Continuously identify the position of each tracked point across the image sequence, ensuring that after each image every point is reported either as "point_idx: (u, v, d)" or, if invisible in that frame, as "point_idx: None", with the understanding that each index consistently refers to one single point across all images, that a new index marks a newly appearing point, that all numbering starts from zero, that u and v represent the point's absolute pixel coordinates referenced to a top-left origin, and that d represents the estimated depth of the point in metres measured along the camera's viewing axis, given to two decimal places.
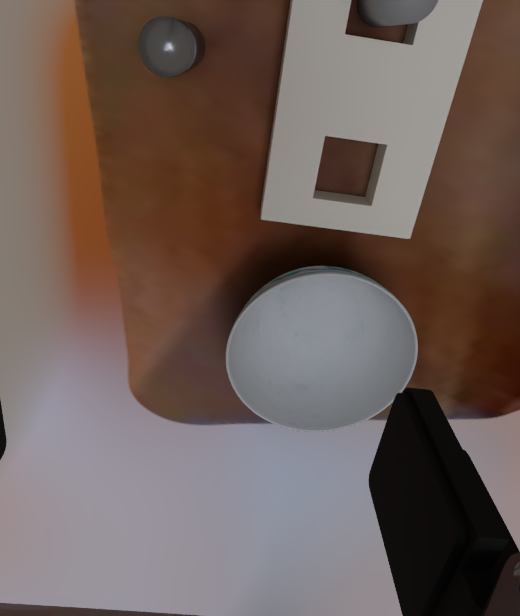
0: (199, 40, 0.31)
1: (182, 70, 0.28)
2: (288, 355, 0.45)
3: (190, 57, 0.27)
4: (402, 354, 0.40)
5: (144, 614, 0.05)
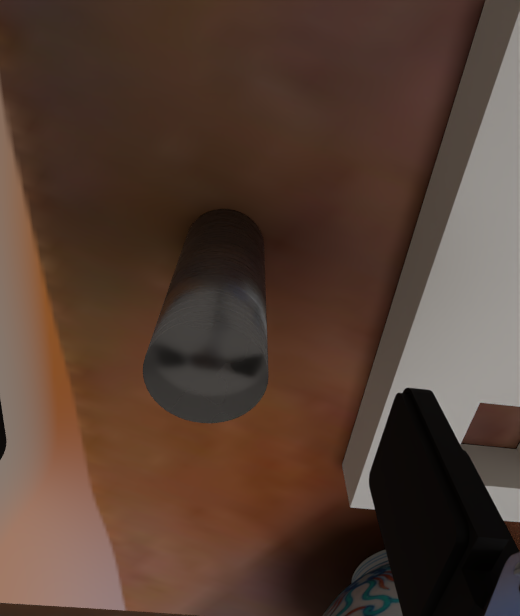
0: (264, 276, 0.16)
1: (242, 411, 0.12)
2: None
3: (262, 391, 0.12)
4: None
5: (144, 614, 0.05)
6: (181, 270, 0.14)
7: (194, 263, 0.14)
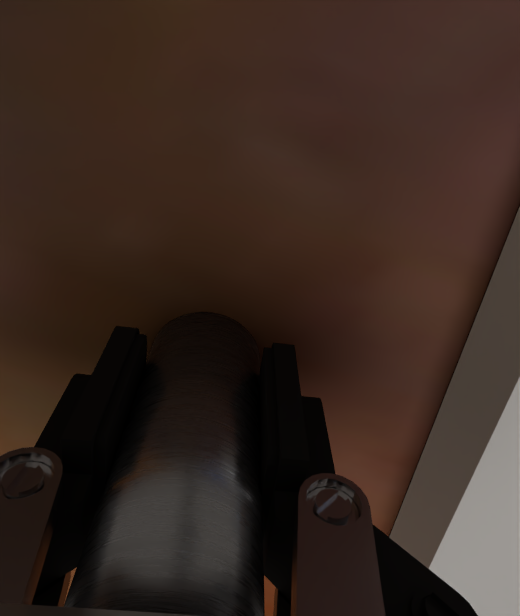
0: (259, 432, 0.10)
1: None
2: None
3: None
4: None
5: (144, 614, 0.05)
6: (128, 447, 0.09)
7: (147, 439, 0.09)
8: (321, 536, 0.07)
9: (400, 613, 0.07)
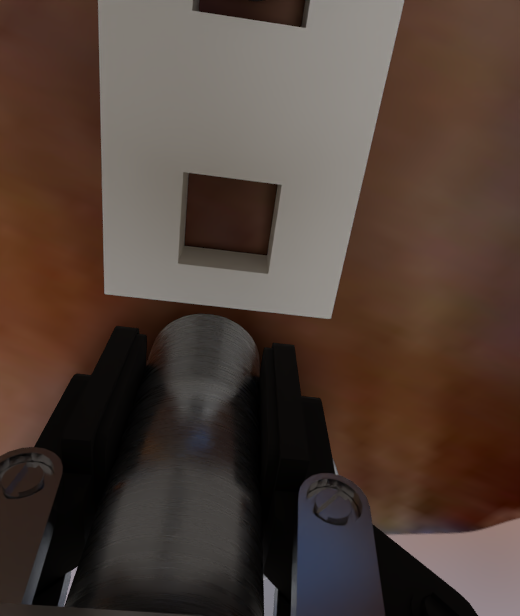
0: (258, 434, 0.10)
1: None
2: None
3: None
4: None
5: (144, 614, 0.05)
6: (128, 449, 0.09)
7: (147, 442, 0.09)
8: (321, 536, 0.07)
9: (400, 613, 0.07)
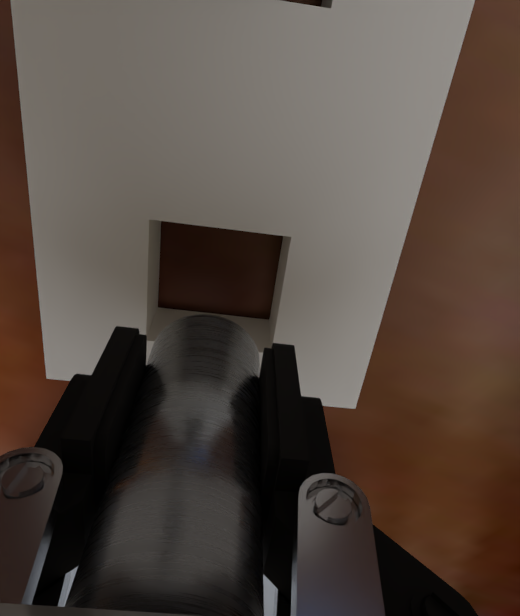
0: (258, 434, 0.10)
1: None
2: None
3: None
4: None
5: (144, 614, 0.05)
6: (128, 449, 0.09)
7: (147, 442, 0.09)
8: (321, 536, 0.07)
9: (400, 613, 0.07)
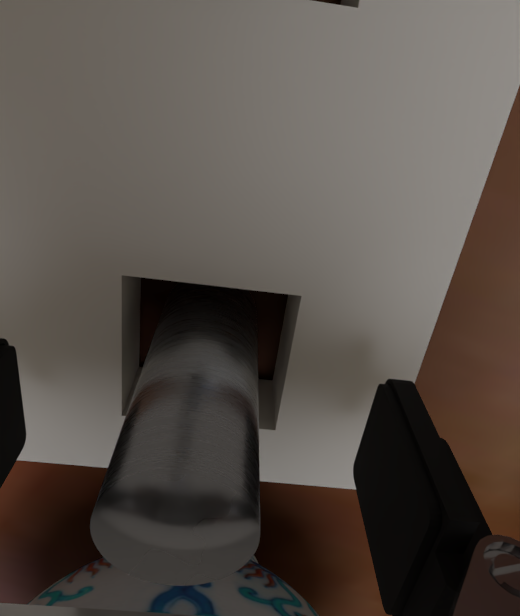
0: (256, 364, 0.13)
1: (226, 572, 0.09)
2: None
3: (252, 550, 0.09)
4: None
5: (144, 614, 0.05)
6: (151, 366, 0.11)
7: (167, 359, 0.11)
8: (490, 595, 0.07)
9: None
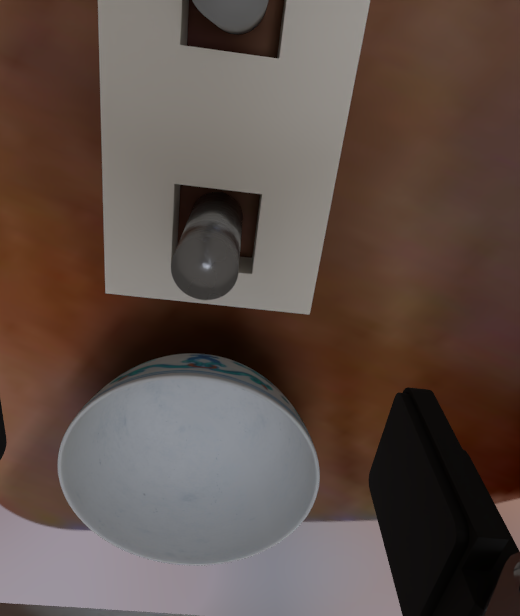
0: (240, 228, 0.26)
1: (225, 292, 0.22)
2: (173, 455, 0.35)
3: (235, 279, 0.22)
4: (306, 466, 0.30)
5: (144, 614, 0.05)
6: (190, 221, 0.24)
7: (197, 216, 0.24)
8: (518, 613, 0.07)
9: None
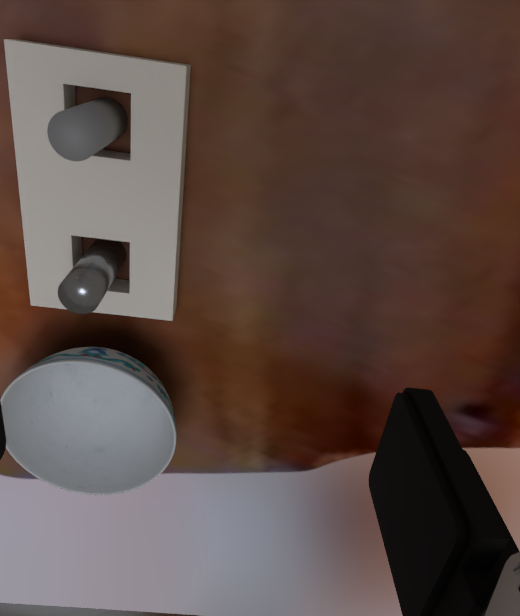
0: (115, 264, 0.39)
1: (93, 309, 0.35)
2: (89, 420, 0.48)
3: (99, 301, 0.35)
4: None
5: (144, 614, 0.05)
6: (78, 261, 0.37)
7: (82, 259, 0.37)
8: (518, 613, 0.07)
9: None
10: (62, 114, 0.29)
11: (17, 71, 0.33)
